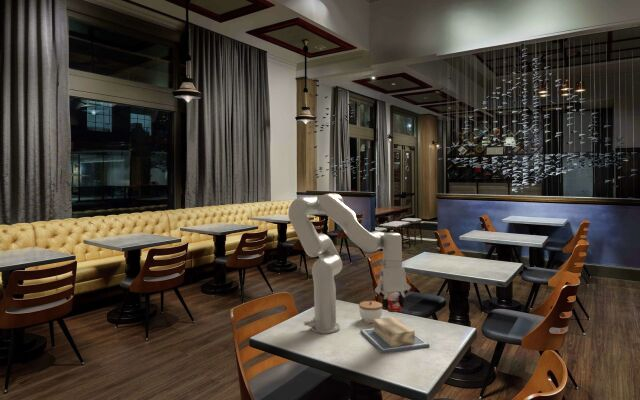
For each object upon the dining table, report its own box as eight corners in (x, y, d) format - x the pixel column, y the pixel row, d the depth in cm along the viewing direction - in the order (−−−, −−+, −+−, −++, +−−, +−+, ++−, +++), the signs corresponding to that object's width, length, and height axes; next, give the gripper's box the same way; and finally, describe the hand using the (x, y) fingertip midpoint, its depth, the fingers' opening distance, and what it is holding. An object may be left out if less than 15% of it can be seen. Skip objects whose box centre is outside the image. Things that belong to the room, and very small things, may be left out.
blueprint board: (382, 353, 144) (382, 337, 144) (360, 332, 165) (360, 318, 165) (429, 346, 149) (429, 331, 149) (402, 327, 170) (402, 313, 170)
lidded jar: (357, 324, 175) (357, 303, 175) (360, 316, 186) (360, 297, 185) (381, 325, 173) (381, 305, 173) (383, 317, 183) (383, 298, 183)
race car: (384, 304, 164) (384, 294, 164) (397, 304, 163) (396, 294, 163) (388, 314, 150) (388, 304, 150) (402, 314, 150) (402, 304, 150)
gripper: (376, 266, 150) (377, 312, 151) (416, 263, 155) (416, 307, 155) (369, 263, 157) (369, 306, 158) (407, 260, 162) (407, 302, 163)
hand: (393, 306), depth 157 cm, fingers closed on race car, 6 cm apart
